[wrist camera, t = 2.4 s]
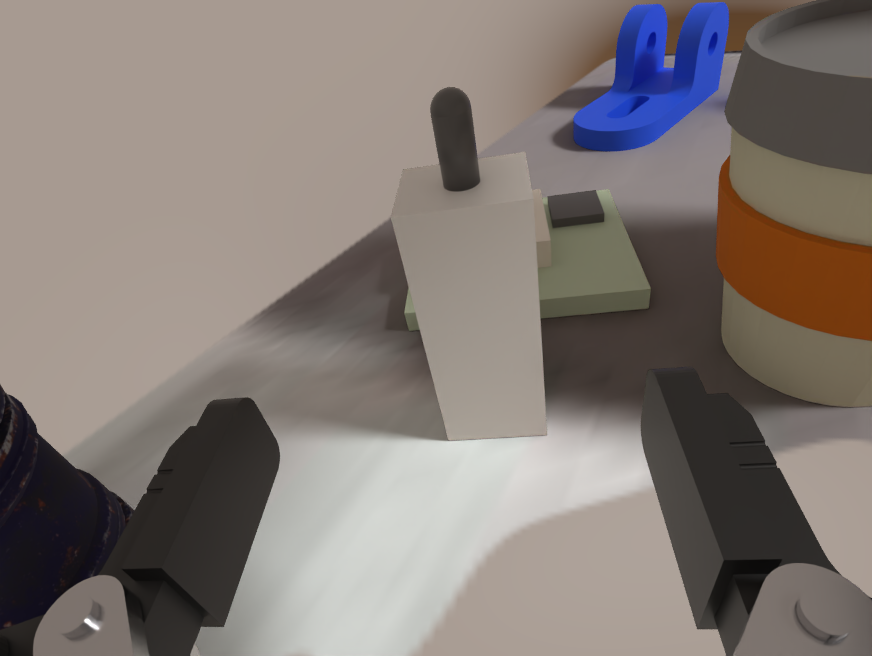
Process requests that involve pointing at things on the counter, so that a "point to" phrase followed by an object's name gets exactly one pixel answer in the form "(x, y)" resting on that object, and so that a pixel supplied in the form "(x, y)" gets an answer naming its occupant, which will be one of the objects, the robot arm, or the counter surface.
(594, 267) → the board
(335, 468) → the counter surface
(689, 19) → the bracket
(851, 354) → the reusable coffee cup
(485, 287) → the plug
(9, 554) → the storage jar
